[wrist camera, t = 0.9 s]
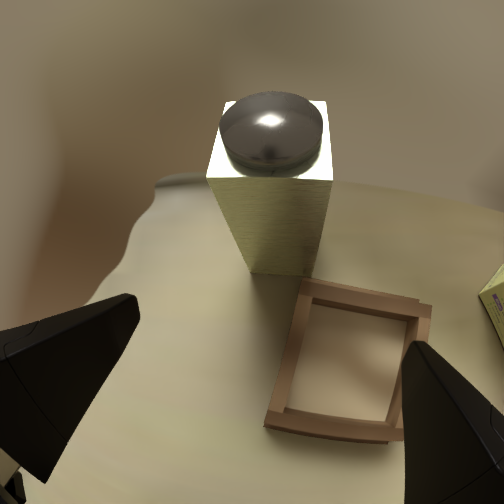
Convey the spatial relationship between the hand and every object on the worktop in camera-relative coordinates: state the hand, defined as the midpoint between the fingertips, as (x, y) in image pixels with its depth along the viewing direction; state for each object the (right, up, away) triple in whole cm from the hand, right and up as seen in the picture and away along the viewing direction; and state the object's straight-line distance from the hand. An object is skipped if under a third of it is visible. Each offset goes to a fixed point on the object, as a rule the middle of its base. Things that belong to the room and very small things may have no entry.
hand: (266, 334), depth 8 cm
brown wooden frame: (+7, -6, +11) cm, 14 cm away
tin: (+2, +3, +15) cm, 16 cm away
